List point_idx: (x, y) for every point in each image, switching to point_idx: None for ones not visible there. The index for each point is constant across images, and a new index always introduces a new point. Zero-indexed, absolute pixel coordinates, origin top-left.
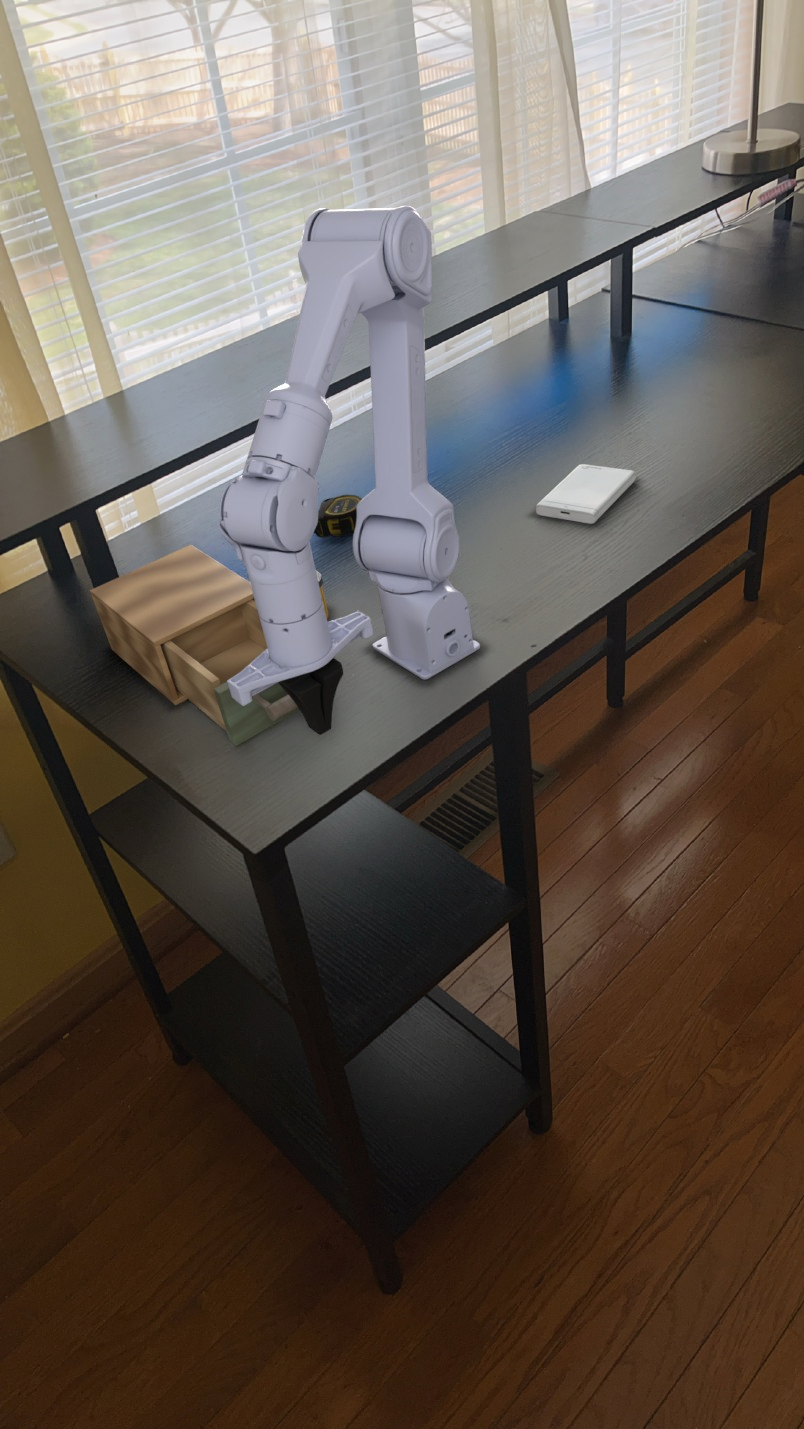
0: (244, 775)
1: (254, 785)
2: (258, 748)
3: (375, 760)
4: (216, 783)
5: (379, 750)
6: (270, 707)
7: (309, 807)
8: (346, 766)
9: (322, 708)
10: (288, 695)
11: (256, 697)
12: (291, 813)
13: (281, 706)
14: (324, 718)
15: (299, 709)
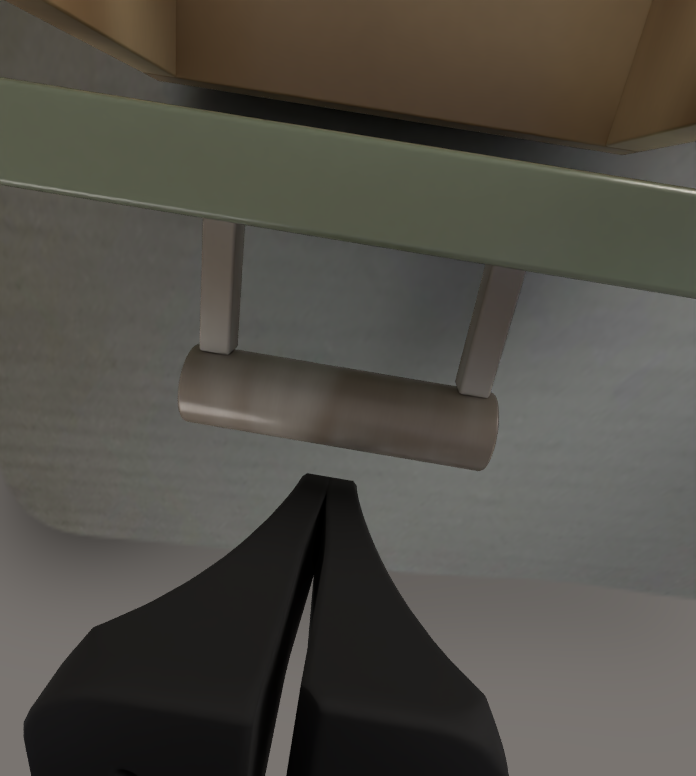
0: (117, 302)
1: (117, 363)
2: None
3: (398, 557)
4: (31, 252)
5: (435, 543)
6: (187, 405)
7: (176, 535)
8: None
9: (310, 631)
10: (305, 413)
11: (209, 237)
12: (133, 516)
13: (237, 429)
14: (312, 596)
15: (275, 510)
